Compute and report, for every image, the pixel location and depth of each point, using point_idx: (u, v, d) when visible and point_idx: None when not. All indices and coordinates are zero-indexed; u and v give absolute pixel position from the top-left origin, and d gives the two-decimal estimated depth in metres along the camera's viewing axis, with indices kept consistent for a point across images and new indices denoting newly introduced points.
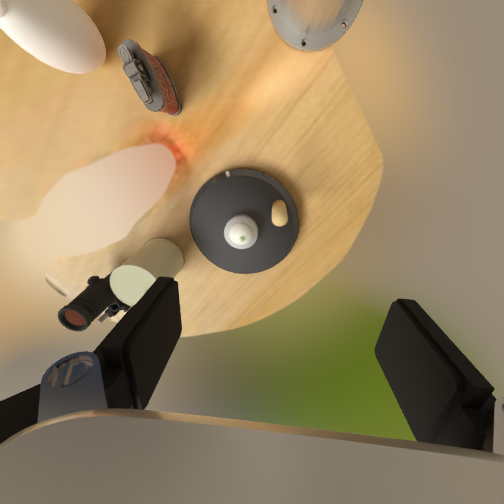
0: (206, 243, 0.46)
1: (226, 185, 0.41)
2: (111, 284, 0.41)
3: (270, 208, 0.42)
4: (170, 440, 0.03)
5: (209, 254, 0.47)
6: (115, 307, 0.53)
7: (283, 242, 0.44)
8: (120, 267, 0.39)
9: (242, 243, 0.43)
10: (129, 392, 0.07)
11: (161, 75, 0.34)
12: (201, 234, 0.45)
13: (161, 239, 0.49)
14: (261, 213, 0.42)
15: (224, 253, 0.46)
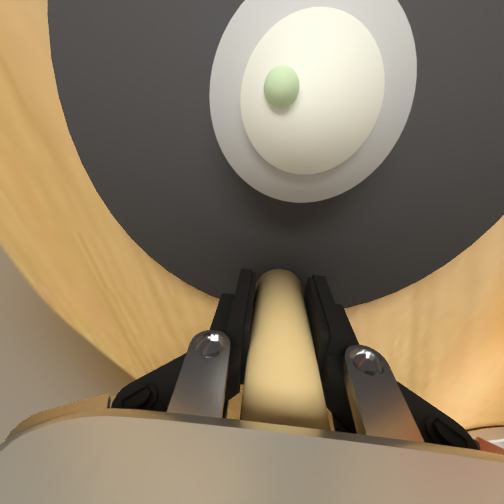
0: None
1: (492, 193, 0.10)
2: None
3: (291, 266, 0.12)
4: (170, 440, 0.04)
5: None
6: None
7: (153, 227, 0.11)
8: None
9: (256, 68, 0.07)
10: (240, 367, 0.08)
11: None
12: None
13: None
14: (300, 230, 0.11)
15: None
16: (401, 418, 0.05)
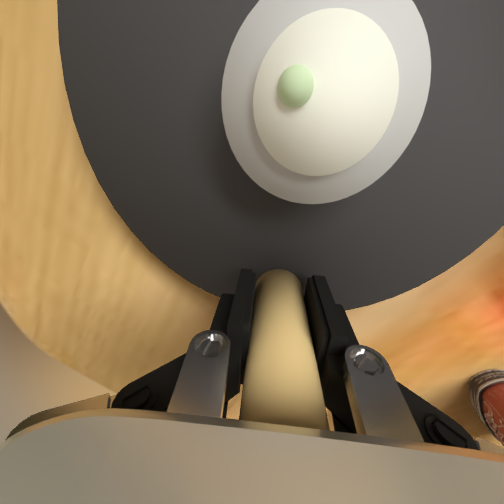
0: None
1: (493, 204, 0.10)
2: None
3: (292, 266, 0.12)
4: (170, 440, 0.03)
5: None
6: None
7: (155, 221, 0.11)
8: None
9: (271, 65, 0.06)
10: (240, 367, 0.08)
11: None
12: None
13: None
14: (303, 231, 0.11)
15: None
16: (401, 418, 0.05)
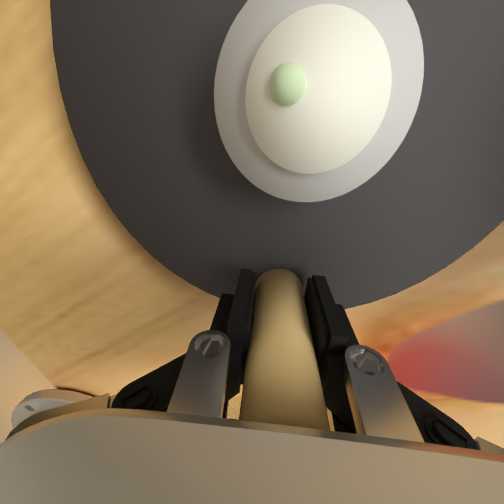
0: None
1: (494, 197, 0.10)
2: None
3: (292, 266, 0.12)
4: (170, 440, 0.04)
5: None
6: None
7: (153, 224, 0.11)
8: None
9: (262, 64, 0.06)
10: (240, 367, 0.08)
11: None
12: None
13: None
14: (302, 230, 0.11)
15: None
16: (401, 418, 0.05)
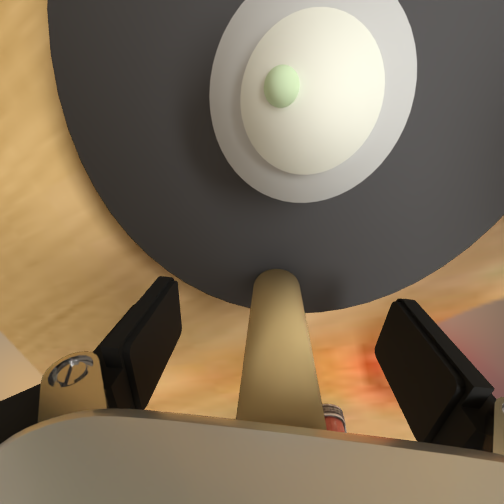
0: None
1: (490, 196, 0.10)
2: None
3: (289, 266, 0.12)
4: (170, 440, 0.03)
5: None
6: None
7: (151, 225, 0.11)
8: None
9: (256, 67, 0.07)
10: (128, 393, 0.07)
11: None
12: None
13: None
14: (299, 231, 0.11)
15: None
16: None
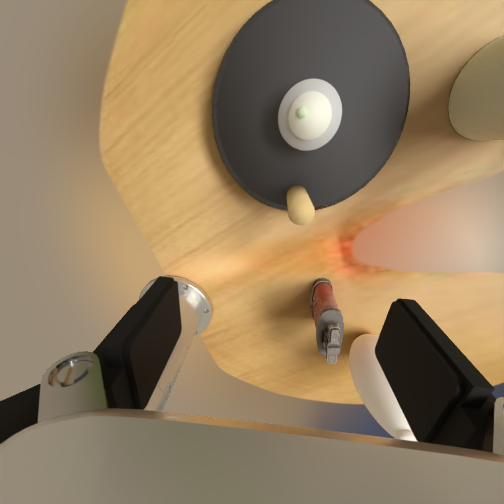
0: (338, 22, 0.21)
1: (380, 149, 0.25)
2: None
3: (302, 183, 0.27)
4: (170, 440, 0.03)
5: (314, 6, 0.21)
6: None
7: (244, 166, 0.27)
8: None
9: (294, 107, 0.22)
10: (128, 392, 0.07)
11: (314, 318, 0.35)
12: (359, 29, 0.21)
13: (465, 135, 0.26)
14: (306, 166, 0.27)
15: (294, 45, 0.22)
16: None
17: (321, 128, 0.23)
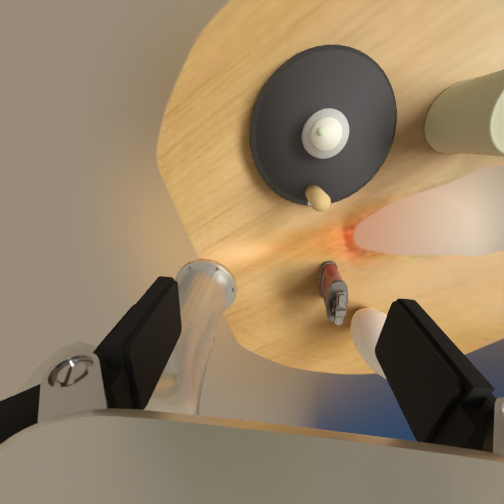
0: (347, 70, 0.30)
1: (375, 158, 0.34)
2: None
3: (317, 183, 0.36)
4: (170, 440, 0.03)
5: (331, 59, 0.30)
6: None
7: (274, 169, 0.36)
8: None
9: (315, 127, 0.31)
10: (128, 392, 0.07)
11: (323, 292, 0.43)
12: (361, 75, 0.30)
13: (437, 150, 0.35)
14: (321, 170, 0.35)
15: (315, 84, 0.31)
16: None
17: (334, 143, 0.32)
